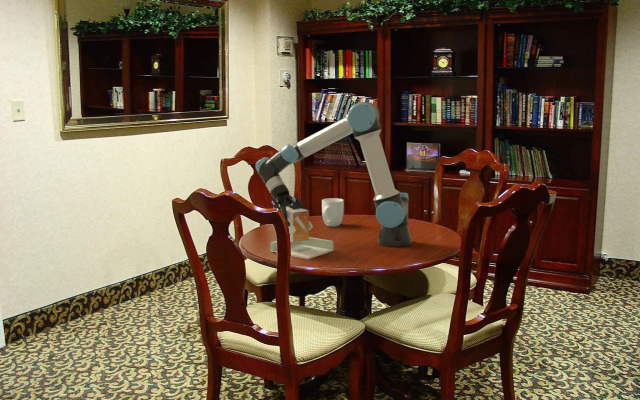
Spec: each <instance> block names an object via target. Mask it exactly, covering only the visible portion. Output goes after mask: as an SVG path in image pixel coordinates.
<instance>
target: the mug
mask: <svg viewBox="0 0 640 400" xmlns="http://www.w3.org/2000/svg"><path fill="white" fill-rule="evenodd" d="M344 206H345V205H344V199H342V198H336V197H335V198H333V197H332V198H323V199H321V212H322V213H321V215H322V219H323V222H324V224H325V226H328V227H332V228H333V227H338V226H340V224H341V223H342V221H343V218H344V210H345V208H344Z"/></svg>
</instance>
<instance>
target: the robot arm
mask: <svg viewBox="0 0 640 400" xmlns="http://www.w3.org/2000/svg"><path fill="white" fill-rule="evenodd" d="M380 124H381V123H380V111H379V108H378V107H377V106H376V105H375V104H374V103H372V102H369V101H361V102H357V103H354V104H353V105H352V106H351V107H350V109H348V111H347V113H346V115H345V117H344V118H341V119H339V120H337V121H336V122H333V123H332V124H330V125H328V126H326V127H324V128H323V129H321V130H319V131H317V132H315V133H313V134H311V135H309V136H308V137H306V138H304V139H302V140H300V141H298V142H297V143H294V144H285V146H282V147H281V148H280V150H278V151H277V152H276V153H275V154H274V155H273V156H272V157H270V158H269V157H266V156H265V157H262V158H261V159H259V160H258V161H256V163H255V169H256V171H257V174H258V175H259V177H260V179H261V180H262V182H263V183H264V185H265V187H266V188H267V190H268V191H269V193H270V195H271V198H273V199H272V201H271V202H270V204H271V206H272V207H273V209H274V208H278V209H280V210H281V211H282V213H283V215H284V217H285V219H286V221H287V225H288V228H289V230H290V232H291V233H292V234H294V232H295V231H296V229H295V227H294V225H293V224H292V222H291V220H290V219H289V218H287V213H286V210H287V207H288V208H289V209H291V210H292V209H301V208H302V209H305V210H308V209H307V208H306V206H305V205H304V204H303V203H302V202H301V200H300V199H299V197H298V196H297V195H295V196H292V195H291V193H290V190H289V188H288V187H287V185H286V184H285V182H284V180H283V178H282V177H281V176H280V173H281V172H283V170H286V168H288V166H291V165H292V164H296V163H297V162H298V163H299V162H300V161H301V160H303V159H305V158H306V157H307V158H308V157H309V156H310V155H313V154H314V153H317V152H319V151H321V150H322V149H324V148H326V147H328V146H330V145H332V144H333V143H336V142H337V141H340V140H341V139H344V138H346V137H347V136H349V135H351V134H353V136H354V139H356V140H357V141H359V144H360V148H361V151H362V154H363V158H364V161H365V164H366V168H367V170H368V174H369V177H370V180H371V184H372V187H373V188H372V189H373V192H374V197H373V202H374V207H375V217H376V220H377V221H378V223H379V224H380V225H381V227H380V230H379V233H378V236H377V244H379V245H381V246H386V247H406V246H410V245H411V244H412V236H411V232H410V229H409V201H410V199H409V194H408V193H407V192H400V191H399V190H397V189H396V188H395V185H394V182H393V178H392V175H391V172H390V168H389V164H388V161H387V158H386V155H385V151H384V148H383V144H382V141H381V137H380V134H381V131H382V128H381V125H380ZM312 228H314V227H313V224H312V223H311V220H310V219H309V232H310V231H312Z"/></svg>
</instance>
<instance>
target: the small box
mask: <svg viewBox="0 0 640 400" xmlns="http://www.w3.org/2000/svg"><path fill="white" fill-rule="evenodd" d="M286 213H287V218H289V219H290V220H291V222H292V224H293V225H294V227H295V229H296V231H295V232H294V234H292V233H291V232H290V230H289V233H290V241H291V242H298V241H306V240H309V237H310V231H309V220H310V210H308V209H307V210H305V209H302V208H301V209H292V208H291V209H286Z"/></svg>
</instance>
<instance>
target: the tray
mask: <svg viewBox="0 0 640 400" xmlns="http://www.w3.org/2000/svg"><path fill="white" fill-rule="evenodd" d="M290 242H291V241H290ZM269 246H270V248H269V249H270V251H271V252H276V253H275V254H277V240H274V241H270V245H269ZM271 252H270V253H271ZM331 252H334V240H330V239H329V240H328V239H324V238H317V237H312V236H311V237H310V236H309V240H306V241H298V242H291V256H290V257H293V258H294V257H295V258H299V259H306V260H310V259H314V258H316V257H318V256H319V257H320V256H322V255H325V254H327V253H331Z"/></svg>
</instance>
